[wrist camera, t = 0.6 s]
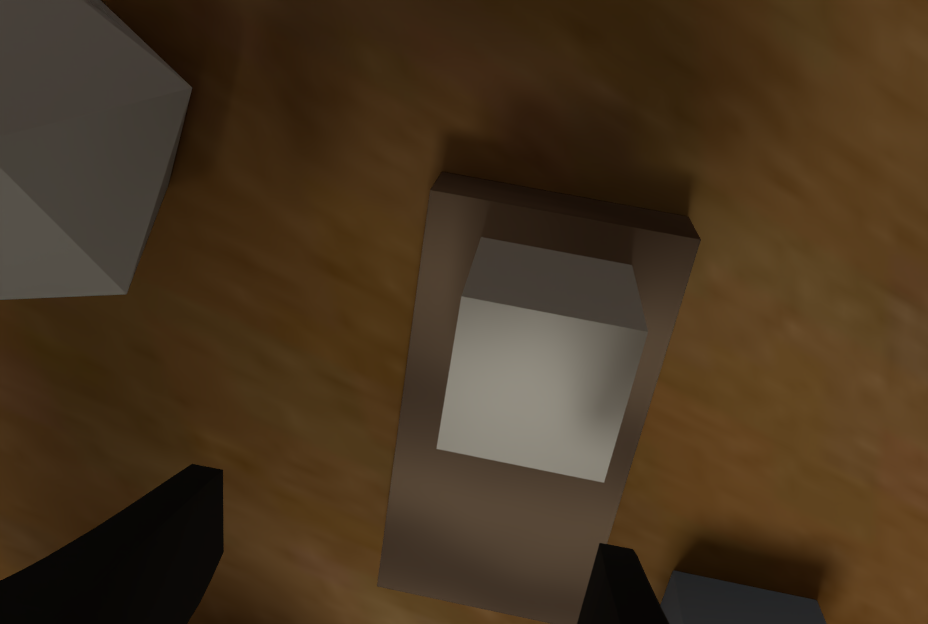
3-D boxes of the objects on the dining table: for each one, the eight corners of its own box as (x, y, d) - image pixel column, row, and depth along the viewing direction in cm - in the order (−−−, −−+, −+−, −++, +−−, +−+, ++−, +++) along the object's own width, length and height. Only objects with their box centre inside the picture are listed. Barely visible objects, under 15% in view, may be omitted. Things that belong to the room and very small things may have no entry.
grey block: (597, 394, 20) (603, 482, 17) (458, 367, 21) (436, 448, 17) (632, 265, 19) (648, 331, 15) (481, 237, 19) (461, 296, 15)
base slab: (579, 585, 26) (580, 629, 24) (390, 545, 26) (377, 586, 25) (688, 216, 20) (701, 240, 18) (442, 171, 20) (430, 190, 19)
